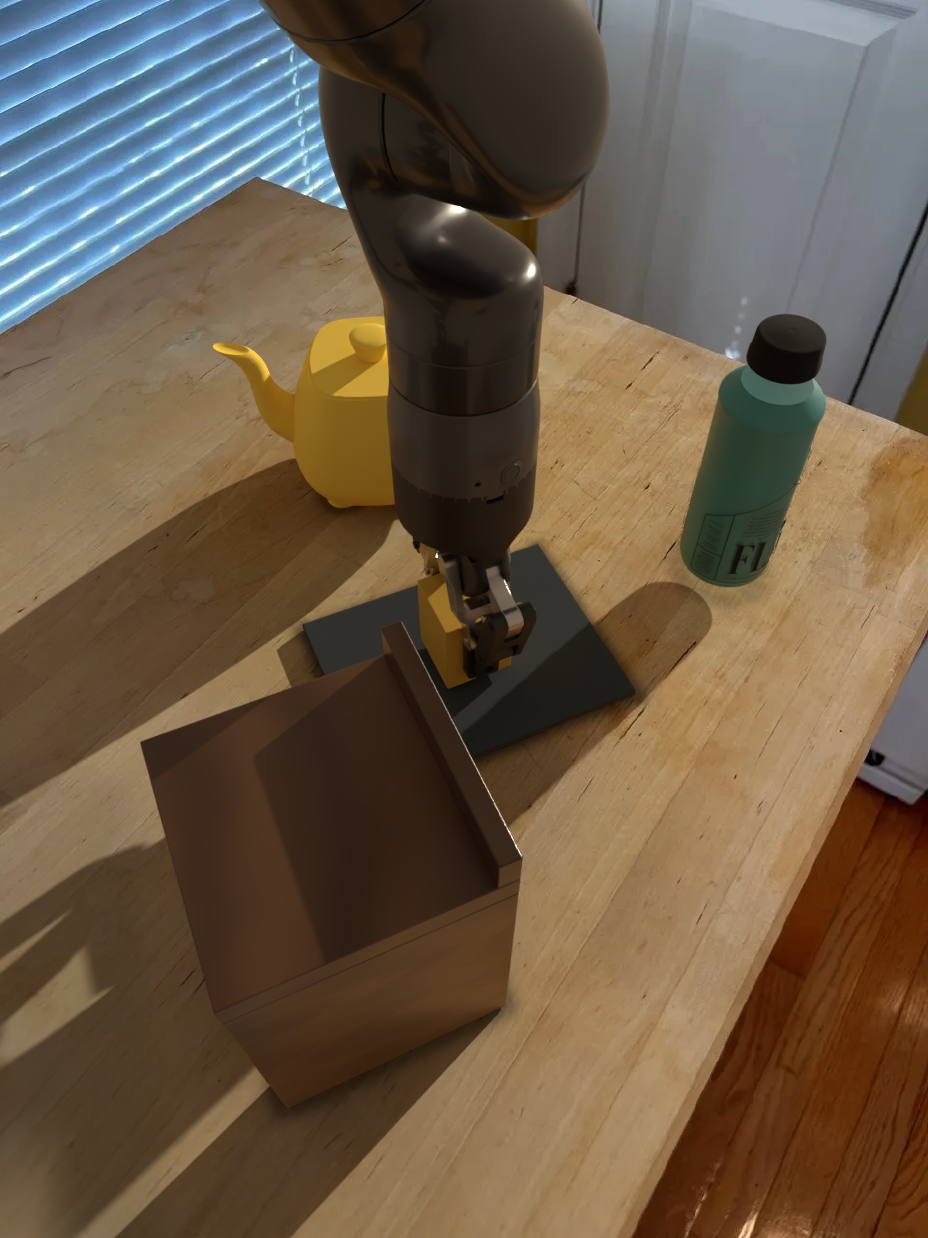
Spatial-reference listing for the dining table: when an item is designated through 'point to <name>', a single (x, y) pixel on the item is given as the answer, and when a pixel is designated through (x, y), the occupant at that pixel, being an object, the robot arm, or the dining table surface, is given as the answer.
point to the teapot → (333, 410)
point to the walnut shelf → (339, 870)
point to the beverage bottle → (755, 453)
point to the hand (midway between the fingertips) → (464, 640)
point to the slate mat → (513, 696)
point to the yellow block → (443, 631)
